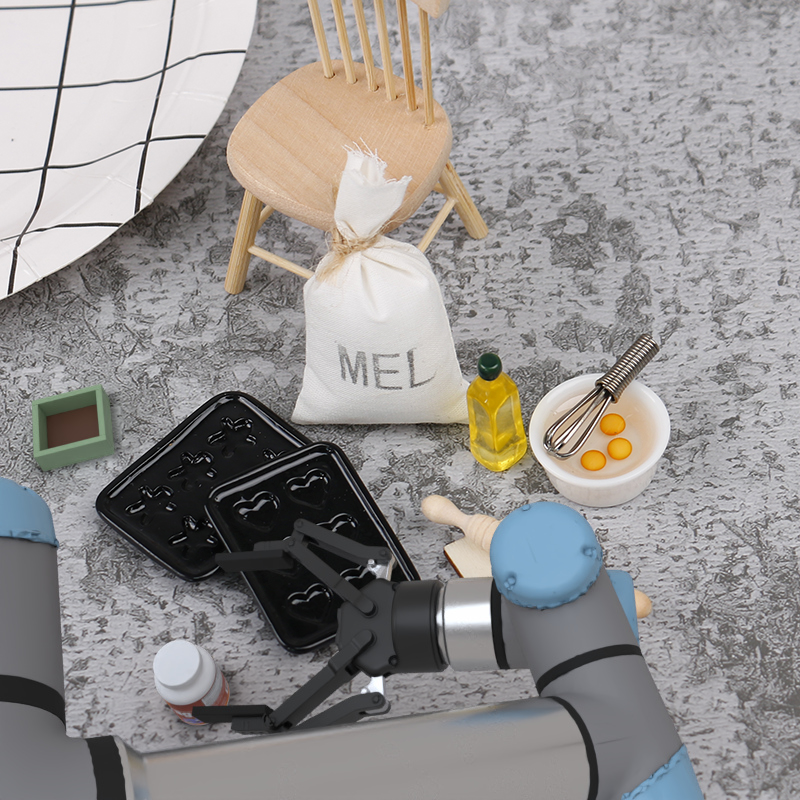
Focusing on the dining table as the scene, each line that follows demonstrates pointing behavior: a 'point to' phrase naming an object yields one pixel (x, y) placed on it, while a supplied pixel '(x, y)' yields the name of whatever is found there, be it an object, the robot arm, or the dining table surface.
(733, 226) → the dining table surface
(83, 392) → the holder
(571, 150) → the dining table surface
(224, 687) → the pill bottle
